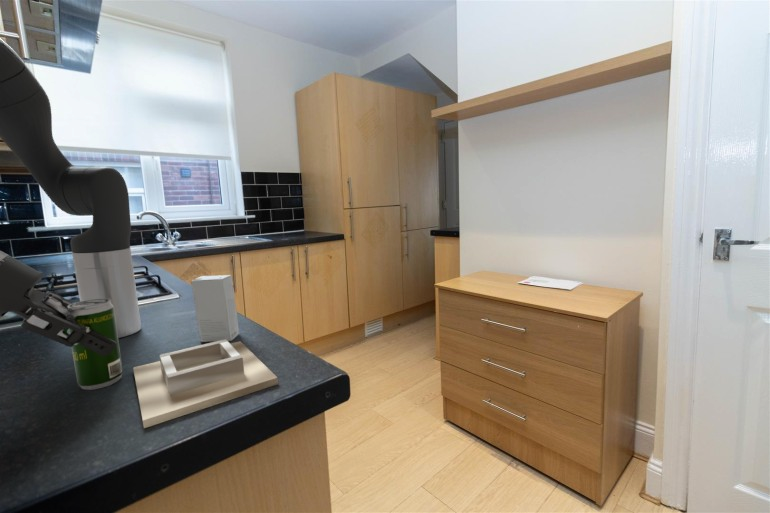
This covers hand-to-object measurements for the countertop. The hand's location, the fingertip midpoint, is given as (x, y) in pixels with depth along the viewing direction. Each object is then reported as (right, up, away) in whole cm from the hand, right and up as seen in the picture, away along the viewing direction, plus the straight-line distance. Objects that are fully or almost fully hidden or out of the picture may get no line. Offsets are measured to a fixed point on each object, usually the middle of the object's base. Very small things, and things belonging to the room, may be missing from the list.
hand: (111, 343), depth 55 cm
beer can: (-1, -6, 0) cm, 6 cm away
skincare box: (+9, -3, +16) cm, 19 cm away
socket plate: (+14, -5, 0) cm, 15 cm away
